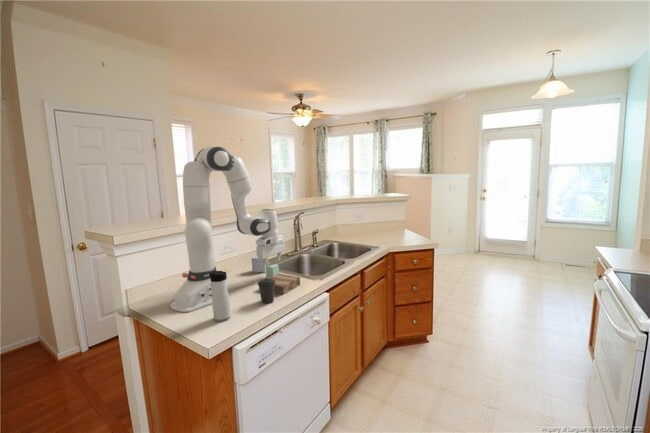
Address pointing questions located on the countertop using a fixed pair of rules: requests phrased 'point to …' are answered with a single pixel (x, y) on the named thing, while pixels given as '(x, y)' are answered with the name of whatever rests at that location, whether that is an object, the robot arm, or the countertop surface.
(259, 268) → the medicine box
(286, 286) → the walnut base
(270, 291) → the coffee cup
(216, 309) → the travel mug
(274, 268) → the sage block
